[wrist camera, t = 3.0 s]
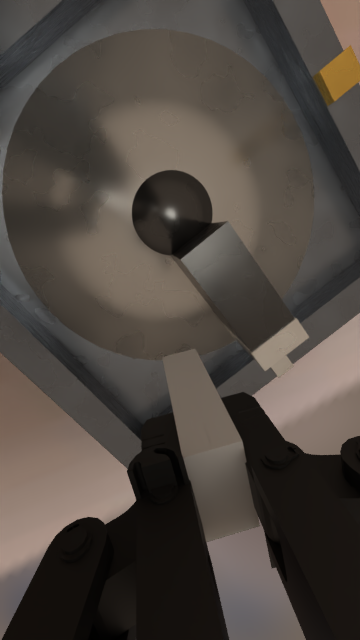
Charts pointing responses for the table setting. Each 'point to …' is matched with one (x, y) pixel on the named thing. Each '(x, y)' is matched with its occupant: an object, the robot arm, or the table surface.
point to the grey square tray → (328, 178)
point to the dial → (161, 198)
